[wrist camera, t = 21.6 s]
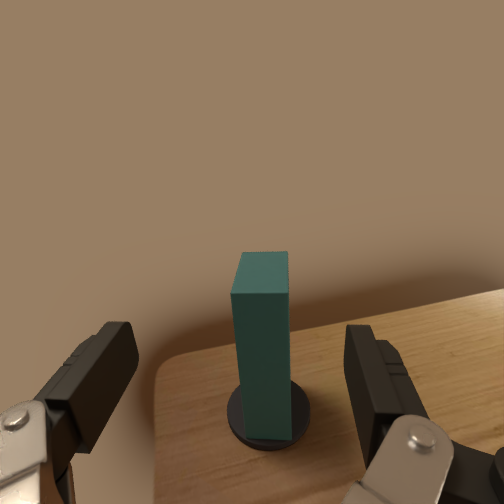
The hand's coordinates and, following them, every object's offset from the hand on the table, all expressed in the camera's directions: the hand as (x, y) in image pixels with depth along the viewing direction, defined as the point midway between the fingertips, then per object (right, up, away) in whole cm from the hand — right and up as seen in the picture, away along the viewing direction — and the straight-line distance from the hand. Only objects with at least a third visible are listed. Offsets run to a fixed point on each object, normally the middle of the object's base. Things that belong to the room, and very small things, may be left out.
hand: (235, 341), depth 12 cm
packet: (+2, -10, +15) cm, 18 cm away
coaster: (+2, -10, +15) cm, 19 cm away
